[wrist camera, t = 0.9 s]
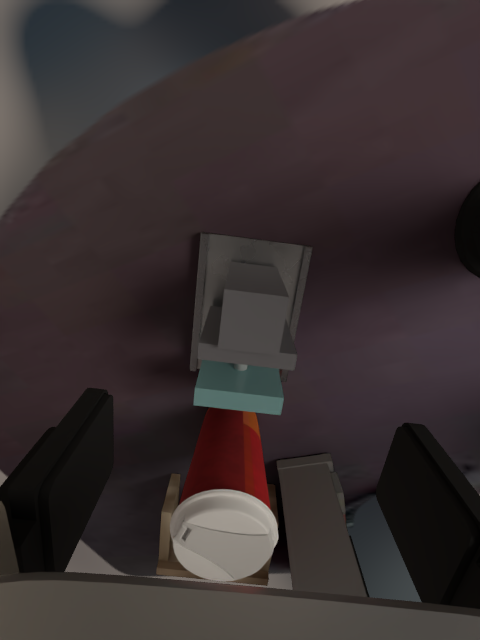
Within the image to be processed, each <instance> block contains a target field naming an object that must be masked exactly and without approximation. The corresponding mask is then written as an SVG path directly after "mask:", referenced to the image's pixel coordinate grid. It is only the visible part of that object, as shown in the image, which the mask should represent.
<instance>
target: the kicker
mask: <svg viewBox="0 0 480 640" xmlns="http://www.w3.org/2000/svg"><path fill="white" fill-rule="evenodd" d="M288 302H289V295H288V293H287V290H286V288H285V285H284V283H283V281H282V278H281V276H280V273H279V271H278V269H277V267H270V266H262V265H254V264H246V263H238V262H230V266H229V271H228V275H227V280H226V284H225V288H224V297H223V306H222V307H216V306H210V309H209V312H208V315H207V318H206V321H205V325H204V328H203V331H202V334H201V337H200V340H199V345H198V356H197V359H201V360H202V363H201V367H200V371H199V375H198V378H197V382H196V386H195V394H194V405H196V406H205V407H214V408H222V409H231V410H240V411H248V412H257V413H266V414H274V415H281V411H282V406H283V400H284V396H283V390H282V385H281V379H280V374H279V369H285V370H293V371H294V369H295V364H296V359H297V352H296V349H295V346H294V342H293V339H292V336H291V333H290V330H289V327H288V324H287V320H286V313H287V308H288Z"/></svg>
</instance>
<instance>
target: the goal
mask: <svg viewBox="0 0 480 640" xmlns="http://www.w3.org/2000/svg"><path fill="white" fill-rule="evenodd" d="M180 475H181V474H171V478H170V482H169V486H168V489H167V493H166V497H165V501H164V505H163V508H162V513H161V529H160V546H159V561H158V565H157V573H156V574H158V575H167V576H177V577H187V578H197V579H205V578H202V577H199V576H197V575H195V574H193V573H191V572H190V571H188V570H187V569H186V568H185V567H184V566H183V565H182V564H181V563H180V562H179V560H178V559H177V557H176V555H175V553H174V549H173V541H172V538H171V534H170V521H171V517H172V515H173V513H174V511H175V510H176V508H177V507H178V499H179V487H180ZM267 487H268V494H269V501H270V508H271V511H272V513H273V515H274V517H275V519H276V522H277V528H278V525H279V522H278V512H277V502H276V492H275V485H272V484H267ZM271 556H272V555H271ZM270 561H271V557H270V558H269V560H268V561H267V562H266V563H265V564H264V566H263V567H262V568H261V569H260V570H258V571H257V572H256V573H254V574H252V575H250V576H247V577H245V578H241V579H238V580H235V581H227V582H236V583H247V584H256V585H266V586H267V584H268V579H269V578H268V570H269V565H270ZM207 580H209V579H207Z"/></svg>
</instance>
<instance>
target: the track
mask: <svg viewBox="0 0 480 640" xmlns="http://www.w3.org/2000/svg"><path fill="white" fill-rule="evenodd" d="M311 253H312V246H307V245H299V244H291V243H283V242H276V241H268V240H260V239H252V238H245V237H237V236H229V235H221V234H214V233H206V232H201V237H200V250H199V262H198V274H197V286H196V298H195V310H194V322H193V334H192V346H191V358H190V371H196V370H197V369H200V367H201V363H202V360H201V359H197V356H198V345H199V340H200V337H201V334H202V331H203V328H204V325H205V321H206V318H207V315H208V312H209V309H210V306H216V307H222V306H223V297H224V288H225V284H226V280H227V275H228V271H229V266H230V262H238V263H246V264H254V265H262V266H270V267H277V269H278V271H279V273H280V276H281V278H282V281H283V283H284V285H285V288H286V290H287V293H288V295H289V302H288V308H287V313H286V320H287V324H288V327H289V330H290V333H291V336H292V339H293V342H294V340H295V335H296V330H297V324H298V319H299V314H300V309H301V304H302V299H303V294H304V289H305V283H306V278H307V273H308V268H309V263H310V258H311ZM288 371H289V370H285V369H279V374H280V379H281V382H286V381H287V376H288Z"/></svg>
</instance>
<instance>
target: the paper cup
mask: <svg viewBox="0 0 480 640" xmlns="http://www.w3.org/2000/svg"><path fill="white" fill-rule="evenodd" d="M170 534H171V538H172V541H173V549H174V553H175V555H176V557H177V559H178V560H179V562H180V563H181V564H182V565H183V566H184V567H185V568H186V569H187V570H188V571H190V572H191V573H193V574H195V575H197V576H199V577H202V578H205V579H209V580H214V581H235V580H238V579H241V578H245V577H247V576H250V575H252V574H254V573H256V572H257V571H258V570H260V569H261V568H262V567H263V566H264V564H265V563H266V562H267V561H268V560H269V558H270V557H271V555H272V553H273V550H274V547H275V546H276V544H277V541H278V538H279V536H278V528H277V522H276V519H275V517H274V515H273V513H272V511H271V508H270V501H269V494H268V487H267V480H266V473H265V466H264V459H263V452H262V445H261V439H260V432H259V426H258V421H257V416H256V414H255V412H248V411H240V410H231V409H222V408H214V407H210V408H209V409H208V411H207V412H206V415H205V418H204V421H203V424H202V427H201V430H200V434H199V437H198V441H197V444H196V448H195V451H194V455H193V458H192V462H191V465H190V468H189V471H188V474H187V478H186V481H185V484H184V488H183V492H182V496H181V499H180V503H179V506H178V507H177V508H176V510H175V511H174V513H173V515H172V517H171V521H170Z"/></svg>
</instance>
